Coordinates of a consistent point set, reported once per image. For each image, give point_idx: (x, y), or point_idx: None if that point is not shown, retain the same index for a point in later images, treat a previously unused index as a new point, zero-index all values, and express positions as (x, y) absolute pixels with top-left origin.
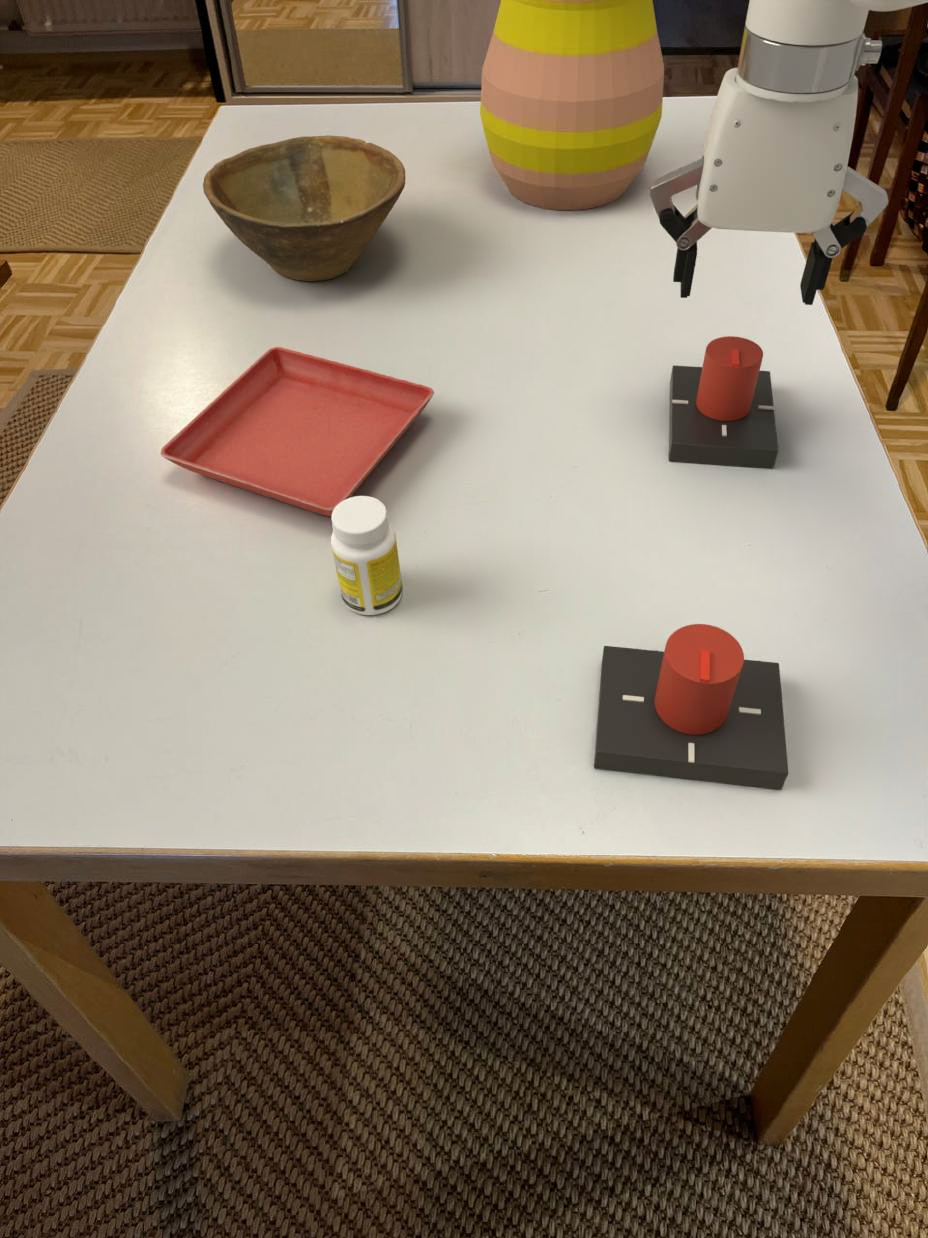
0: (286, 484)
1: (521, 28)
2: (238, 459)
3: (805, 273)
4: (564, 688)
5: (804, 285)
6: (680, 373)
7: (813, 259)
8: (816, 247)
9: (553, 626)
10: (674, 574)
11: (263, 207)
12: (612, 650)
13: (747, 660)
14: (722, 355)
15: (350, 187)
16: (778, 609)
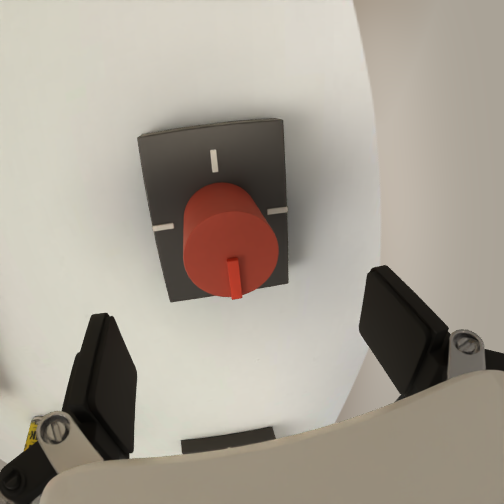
0: None
1: None
2: None
3: (384, 312)
4: (168, 450)
5: (372, 320)
6: (151, 156)
7: (402, 379)
8: (423, 366)
9: (146, 431)
10: (206, 393)
11: None
12: (187, 453)
13: (259, 442)
14: (213, 272)
15: None
16: (277, 395)
